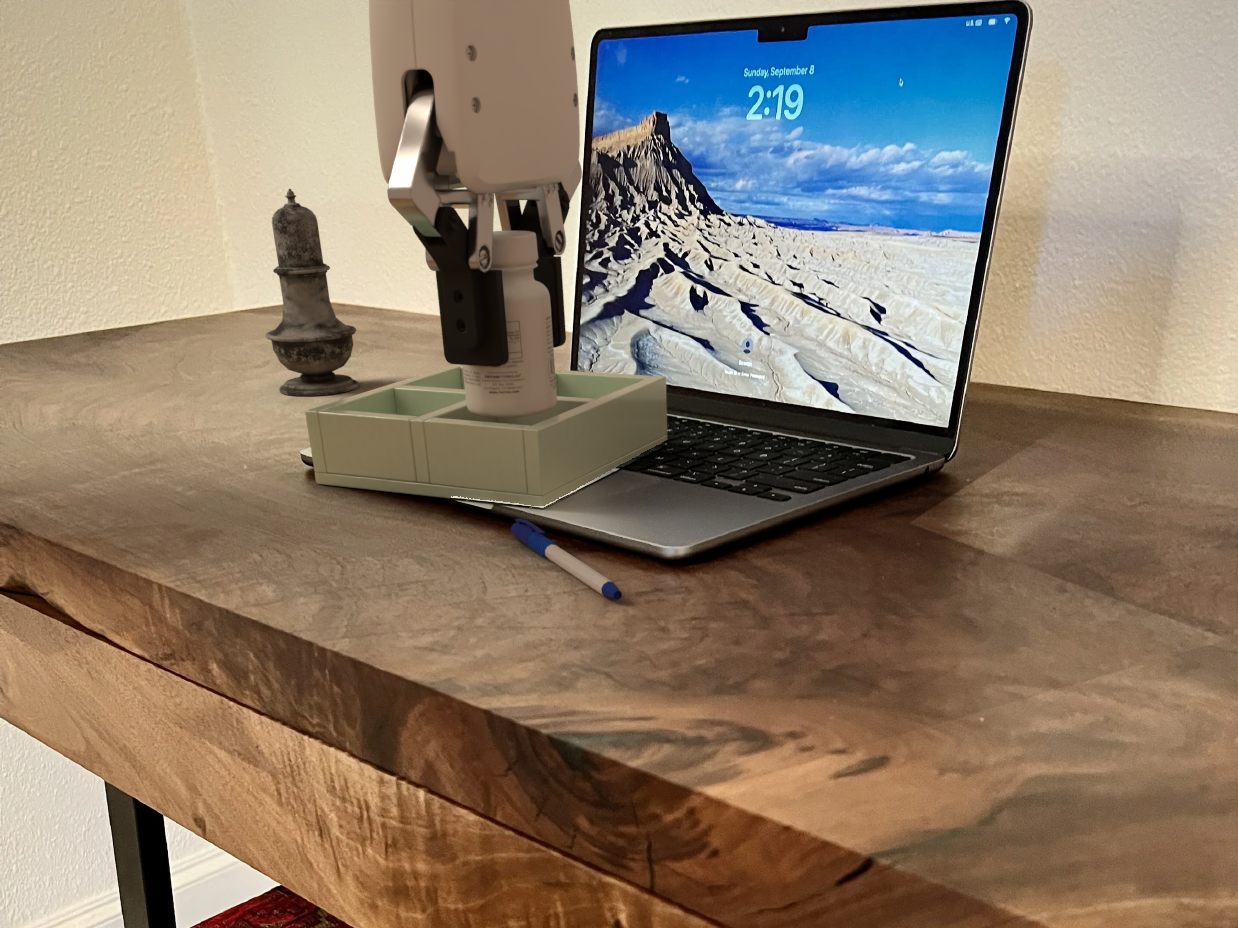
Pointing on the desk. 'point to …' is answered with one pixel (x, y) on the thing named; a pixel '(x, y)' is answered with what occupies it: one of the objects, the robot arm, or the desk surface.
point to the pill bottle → (517, 338)
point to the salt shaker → (307, 308)
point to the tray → (485, 437)
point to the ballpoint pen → (563, 558)
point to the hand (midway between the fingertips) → (506, 350)
